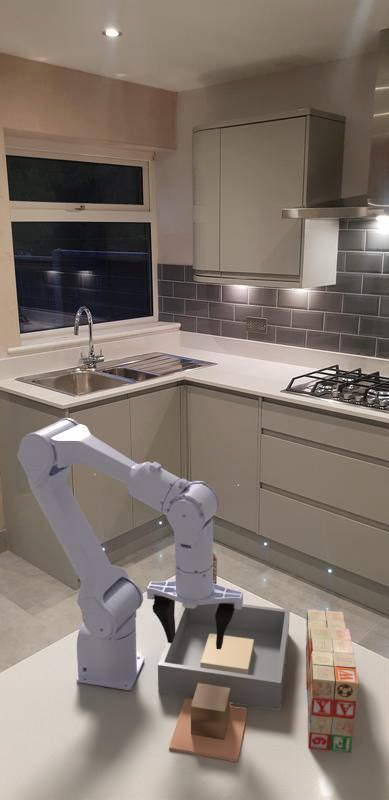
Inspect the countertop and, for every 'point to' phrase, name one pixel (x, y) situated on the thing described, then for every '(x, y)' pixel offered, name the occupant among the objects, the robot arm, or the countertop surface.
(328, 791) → the countertop surface
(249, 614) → the grey crate
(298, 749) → the countertop surface
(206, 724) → the walnut block
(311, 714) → the stack of blocks
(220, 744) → the terracotta mat
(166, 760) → the countertop surface
